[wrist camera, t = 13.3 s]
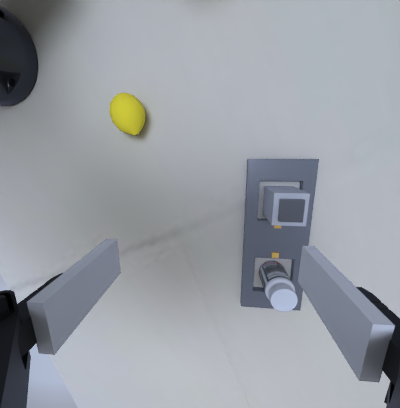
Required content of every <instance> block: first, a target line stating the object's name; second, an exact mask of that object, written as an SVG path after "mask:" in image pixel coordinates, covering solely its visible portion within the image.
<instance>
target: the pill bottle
mask: <svg viewBox="0 0 400 408" xmlns="http://www.w3.org/2000/svg"><path fill="white" fill-rule="evenodd" d="M259 275H260V278H261V281H262V285H263V288H264V291H265V294H266V296H267V298H268V299H269V300H270V302H271V305H272V306H273V307H274V308H275V309H276V310H278V311H282V312H287V311H290V310H292V309H293V308H295V306H296V305H297V302H298V299H297V295H296V293H295V287H294V285H293V283H292V281H291V280H290V278H289V276H288V274H287V273H286V271H285V269H284V267H283V266H282V265H281V264H280V263H278V262H276V261H268V262H266V263H264V264H263V265H262V266H261V267H260V270H259Z"/></svg>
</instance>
